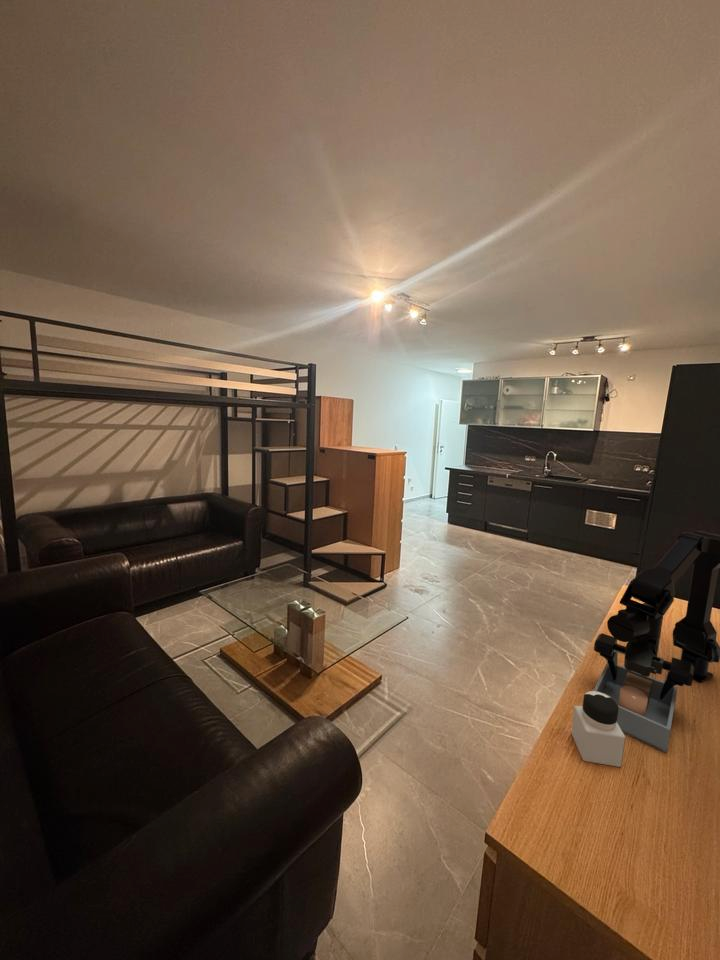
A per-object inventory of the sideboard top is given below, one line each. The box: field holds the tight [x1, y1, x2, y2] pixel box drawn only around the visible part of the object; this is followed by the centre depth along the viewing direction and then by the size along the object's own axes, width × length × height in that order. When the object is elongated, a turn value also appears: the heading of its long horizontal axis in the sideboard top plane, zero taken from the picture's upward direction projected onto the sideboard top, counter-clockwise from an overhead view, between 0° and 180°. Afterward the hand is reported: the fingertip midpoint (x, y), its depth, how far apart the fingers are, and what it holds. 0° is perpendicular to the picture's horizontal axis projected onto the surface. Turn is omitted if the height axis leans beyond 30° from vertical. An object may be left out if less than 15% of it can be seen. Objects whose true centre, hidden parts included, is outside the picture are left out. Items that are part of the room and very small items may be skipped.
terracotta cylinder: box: [618, 686, 648, 717], centre depth 85 cm, size 5×5×7 cm
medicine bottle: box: [570, 690, 626, 768], centre depth 78 cm, size 7×7×12 cm
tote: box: [592, 662, 678, 754], centre depth 89 cm, size 17×14×6 cm
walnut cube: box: [623, 672, 652, 711], centre depth 92 cm, size 5×5×5 cm
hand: (637, 688), depth 92 cm, fingers open, 9 cm apart
